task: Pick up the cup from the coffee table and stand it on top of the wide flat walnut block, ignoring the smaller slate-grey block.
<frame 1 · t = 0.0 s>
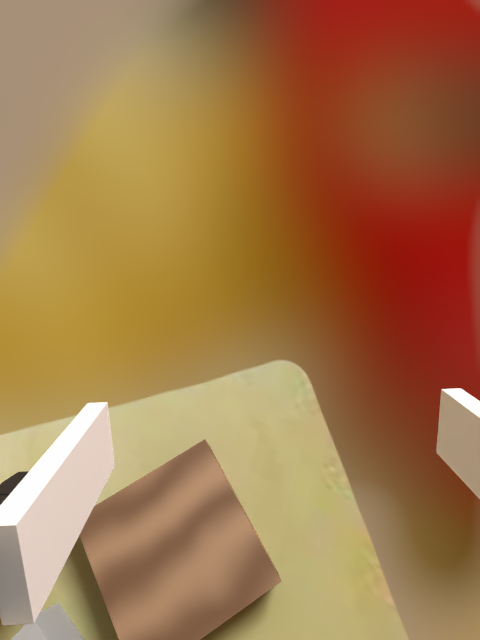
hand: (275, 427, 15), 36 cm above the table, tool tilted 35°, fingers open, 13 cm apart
walnut block: (181, 543, 45), on the table
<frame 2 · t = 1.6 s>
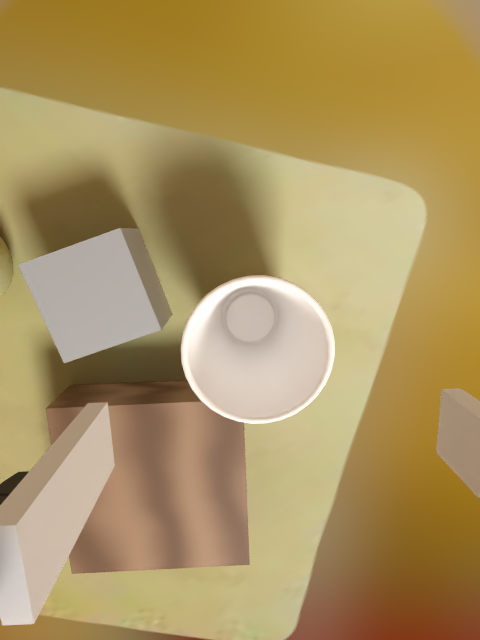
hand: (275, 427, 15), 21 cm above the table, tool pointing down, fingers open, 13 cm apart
grey block: (114, 287, 35), on the table
cup: (250, 316, 36), on the table
walnut block: (163, 458, 39), on the table
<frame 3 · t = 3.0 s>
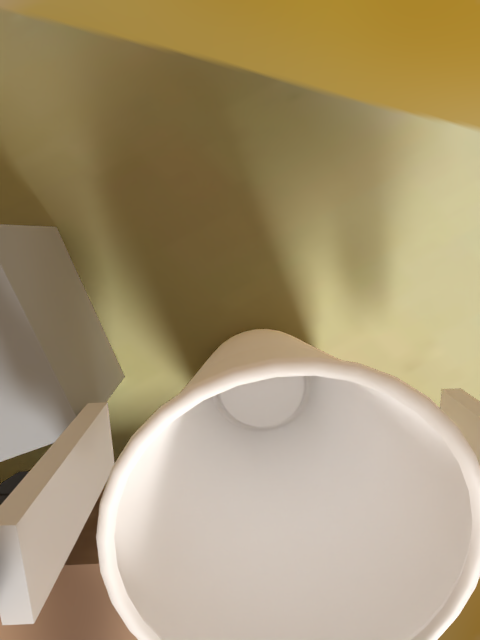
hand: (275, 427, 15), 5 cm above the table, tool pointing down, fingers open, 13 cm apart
grey block: (20, 331, 20), on the table
cup: (261, 382, 21), on the table
walnut block: (114, 609, 23), on the table
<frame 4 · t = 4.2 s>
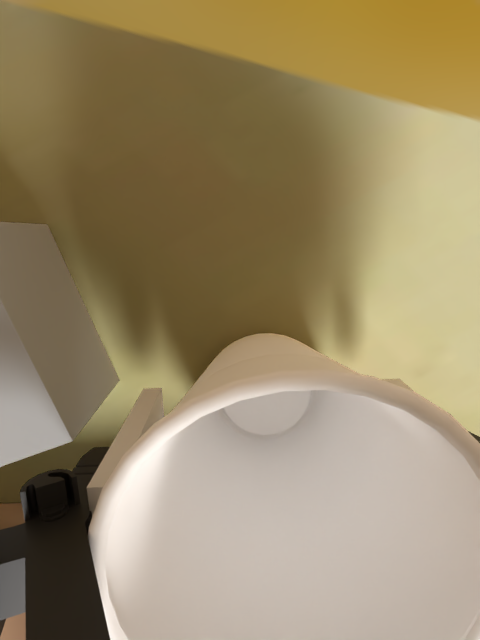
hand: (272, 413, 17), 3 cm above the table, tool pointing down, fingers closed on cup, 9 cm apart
grey block: (10, 333, 19), on the table
cup: (264, 389, 20), on the table, touching gripper
walnut block: (112, 622, 23), on the table
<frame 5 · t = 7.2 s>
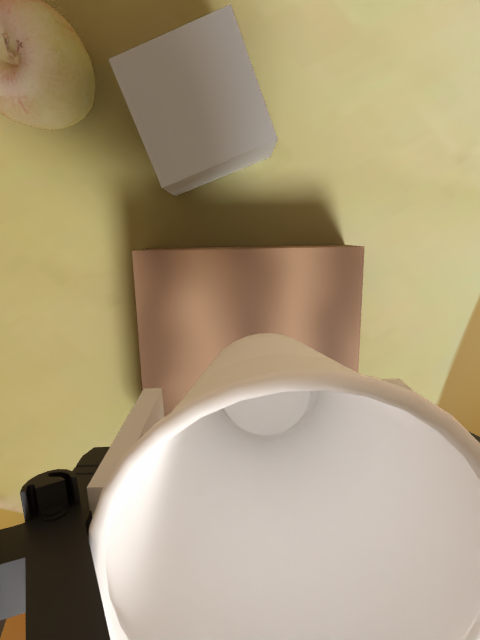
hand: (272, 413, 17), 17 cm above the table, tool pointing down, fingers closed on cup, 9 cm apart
grey block: (202, 126, 30), on the table
cup: (265, 389, 20), point 14 cm above the table, touching gripper
fruit: (58, 87, 30), on the table
walnut block: (247, 341, 34), on the table
when the fingers open (8 cm above the table, at t = 10.3 s): cup stays where it is, resting on walnut block.
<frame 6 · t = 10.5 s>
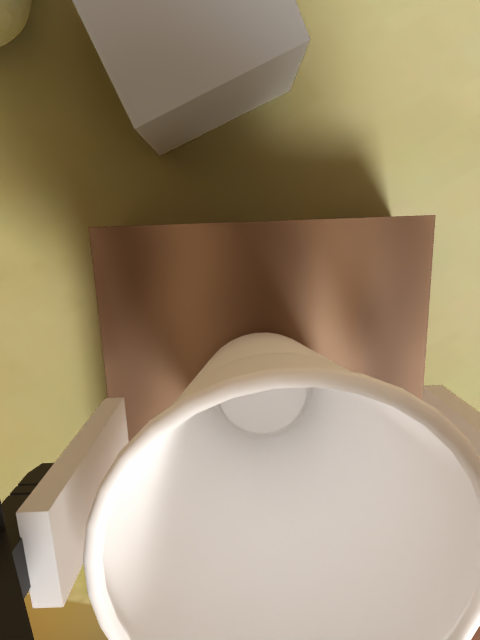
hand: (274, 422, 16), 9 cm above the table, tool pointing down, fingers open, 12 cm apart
grey block: (192, 51, 21), on the table
cup: (261, 387, 20), point 5 cm above the table, touching walnut block
walnut block: (259, 354, 25), on the table
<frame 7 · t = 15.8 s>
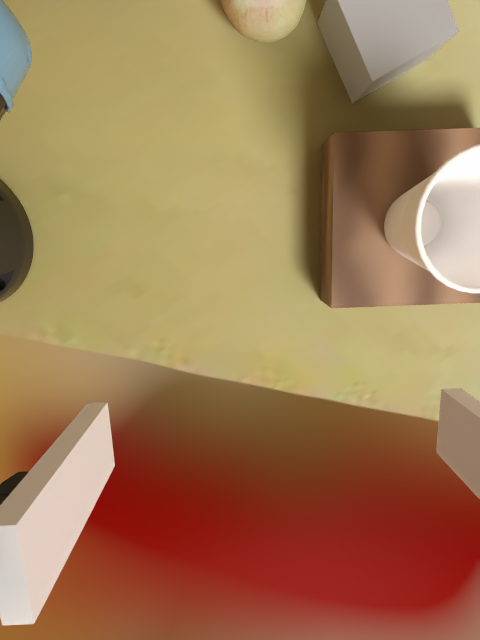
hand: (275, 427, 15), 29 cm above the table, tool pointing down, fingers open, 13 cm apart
grey block: (371, 43, 38), on the table
cup: (413, 224, 37), point 5 cm above the table, touching walnut block
fruit: (260, 13, 38), on the table
walnut block: (396, 222, 42), on the table
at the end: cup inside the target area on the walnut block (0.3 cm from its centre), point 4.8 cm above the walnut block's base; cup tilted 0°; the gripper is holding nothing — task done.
